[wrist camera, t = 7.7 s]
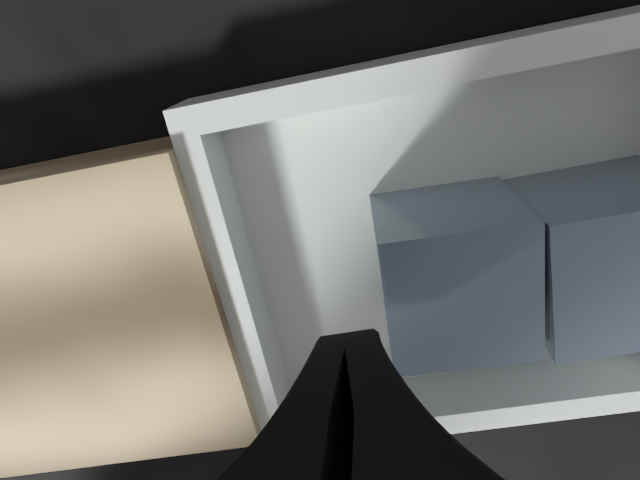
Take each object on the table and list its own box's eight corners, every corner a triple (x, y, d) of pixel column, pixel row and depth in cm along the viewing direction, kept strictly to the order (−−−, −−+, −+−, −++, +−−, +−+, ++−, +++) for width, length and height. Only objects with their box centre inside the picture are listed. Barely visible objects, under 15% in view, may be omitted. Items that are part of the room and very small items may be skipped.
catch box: (653, 357, 19) (697, 403, 16) (277, 407, 20) (269, 456, 18) (671, -3, 14) (735, -7, 12) (188, 98, 16) (162, 111, 14)
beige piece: (271, 386, 20) (260, 445, 17) (-12, 426, 21) (-64, 486, 18) (197, 130, 16) (167, 152, 13) (-140, 197, 18) (-230, 230, 15)
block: (510, 292, 17) (634, 272, 17) (555, 364, 14) (716, 341, 13) (502, 179, 16) (637, 154, 16) (549, 226, 12) (728, 195, 12)
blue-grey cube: (502, 289, 17) (544, 361, 14) (384, 304, 18) (394, 377, 14) (498, 176, 16) (545, 222, 12) (369, 194, 16) (377, 244, 13)
